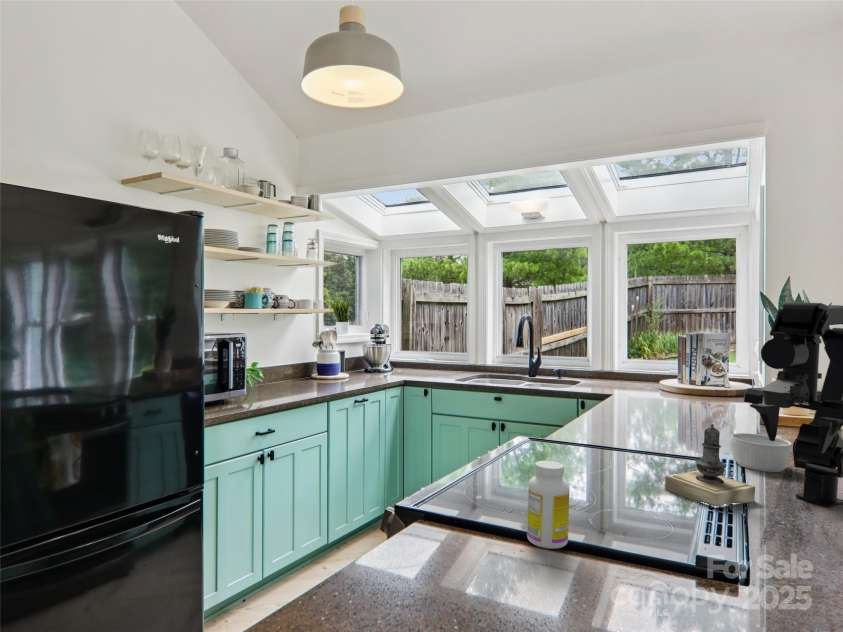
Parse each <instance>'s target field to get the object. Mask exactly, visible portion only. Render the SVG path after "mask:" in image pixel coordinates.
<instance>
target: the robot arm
mask: <svg viewBox="0 0 843 632" xmlns="http://www.w3.org/2000/svg"><path fill="white" fill-rule="evenodd" d="M834 325H835V326H836V325H843V304H842V305H839V304H838V305H837V304H834V305H833V304H832V305H831V304H830V305H827V304H824V303H822V302H794V301H792V302H790V301H789V302H787V301H786V302H785V303H783V304H782V307H780V308H779V309H778V311H777V314H776V316H775V319H774V321H773V324H772V326H771V329H770V331H769V336H771V337H772V336H773V338H771V339H769V340H767V341H766V342H764V344H763V346H762V347H761V349H760V356H761V360H762V361H763V363H764V364H765V365H766V366H767V367H770V368H771V369H774V370H778V373H776V374H777V377H776V380H773V381H771V382H770V383H767V384H766V385H765V386H763V387H754V388H747V389H746V390H745V392H743V403H748V404H749V407H750V408H753V409H754V410H755V411H756V412H758V414H759V416H760V417H761V420H762V422H763V425H764V428H765V430H766V434H767V436H768V437H769V440H770V441H775V438H777V433H778V427H779V426H778V425H779V419H780V418H779V417H780V409H788V408H789V409H790V408H791V407H794V408H799V409H804V410H805V409H806V410H810V411H815V412H814V416H813V419H812V420H811V421H810V422H808V423H805V422H803V423H802V424H801V425H800V426H799V430H798V433H797V437H796V438H795V439H794V441H793V444H792V458H793V465H794V468H796V469H803V470H804V479H803V490H802V492H800V493H799V492H798V493H795V497H796V498H798V499H803V500H805V501H808V502H812V503H815V504H817V505H820V506H824V507H827V508H828V507H829V508H830V507H833V506H834V507H835V506H838V505H842V504H843V499H841V498H838V492H839V489H838V488H839V486H838V485H839V479H842V478H843V436H842V435H841V434H842V433H841V432H840V430H841V429H842V427H843V327H833V328H830V326H834ZM822 342H823V345H824V352H825V353H826V355H827V357H828V360H829V363H828V366H827V369H826V374H825V378H824V380H823V384H822V387H821V391H820V394H819V393H818V383H819V380H821V379H822V375H823V373H821V372H819V361H820V344H822ZM818 379H819V380H818Z"/></svg>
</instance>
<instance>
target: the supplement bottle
mask: <svg viewBox="0 0 843 632" xmlns="http://www.w3.org/2000/svg"><path fill="white" fill-rule="evenodd" d="M534 472H535V476H533V477H532V478H531V479H529V481H528V488H527V490H528V491H527V492H528V493H527V514H526V515H527V519H526V521H527V522H526V537H527V539H528V541H529V543H530V544H533V545H534V546H537V547H539V548H543V549H551V550H555V549H561V548H564V547H565V546H566V545H567V544H568V542H569V523H570V520H569V519H570V484H569V483H568V482H567V480H566V479H564V478H563V475H564V474H565V465H564V464H562V463H561V462H557V461H552V460H538V461H536V462H535V463H534Z"/></svg>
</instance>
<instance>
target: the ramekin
mask: <svg viewBox="0 0 843 632" xmlns="http://www.w3.org/2000/svg"><path fill="white" fill-rule="evenodd" d="M730 441H731V452H732V458H733V461H734V462H735V463H736V462H737V463H738V464H739V465H738V464H737V463H736V464H737V465H738V466H740V467H743V468H745V469H749V470H754V471H759V472H768V473H781V472H783V471H784V470H787V466H788V465H789V459H790V454H791V450H793V444H792V442H790V441H789V440H787V439H784V438H780V437H776V438H775V441H770V440H769V437H768V434H767V435H766V434H758V433H748V432H735V433H732V434H731V435H730Z"/></svg>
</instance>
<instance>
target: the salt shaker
mask: <svg viewBox="0 0 843 632" xmlns="http://www.w3.org/2000/svg"><path fill="white" fill-rule="evenodd" d="M714 426H715V425H714V423H711V424H710V426H709V427H706V428H705V429H704V433H703V434H704V435H703V442H702V443H701V446H702V456H701V458H698V459H696V460H694V463H695V464H696V465H695V466H696V469H697V471H699V472H700V473H702V474H701V475H698V476H696V479H697V480H699V481H702V482H705V483H710V484H723V483H724V481H723V480H722V479H721V478H719V477H717V476H722V475H723V473H724V471H725V468H727V464H725V463H724V462H722V461H721V459H720V449H721V448H722V445H720V430H718V429H717V428H716V427H714Z"/></svg>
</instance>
